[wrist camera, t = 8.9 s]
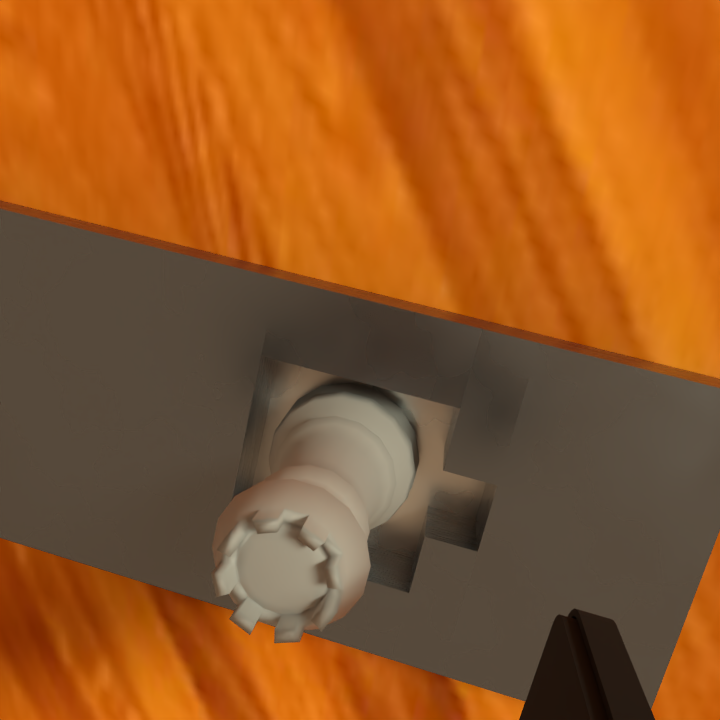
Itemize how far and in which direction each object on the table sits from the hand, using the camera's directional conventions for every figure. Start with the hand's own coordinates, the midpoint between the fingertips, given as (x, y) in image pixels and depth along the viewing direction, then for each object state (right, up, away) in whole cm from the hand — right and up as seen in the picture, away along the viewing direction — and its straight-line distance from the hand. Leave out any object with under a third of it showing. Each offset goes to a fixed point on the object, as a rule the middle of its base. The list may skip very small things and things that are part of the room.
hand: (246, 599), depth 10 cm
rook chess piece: (+1, +1, +10) cm, 10 cm away
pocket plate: (0, +1, +10) cm, 10 cm away
